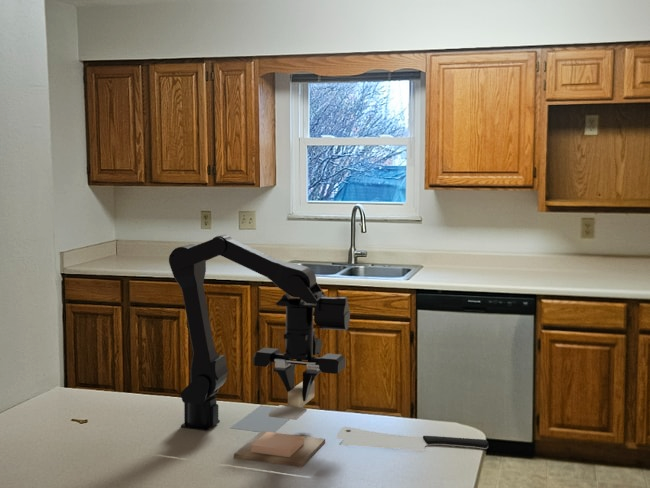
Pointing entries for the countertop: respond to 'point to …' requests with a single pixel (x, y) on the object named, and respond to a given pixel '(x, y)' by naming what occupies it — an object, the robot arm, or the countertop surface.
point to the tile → (277, 444)
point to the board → (296, 459)
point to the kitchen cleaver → (403, 440)
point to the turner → (294, 403)
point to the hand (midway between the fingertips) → (298, 400)
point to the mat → (260, 421)
